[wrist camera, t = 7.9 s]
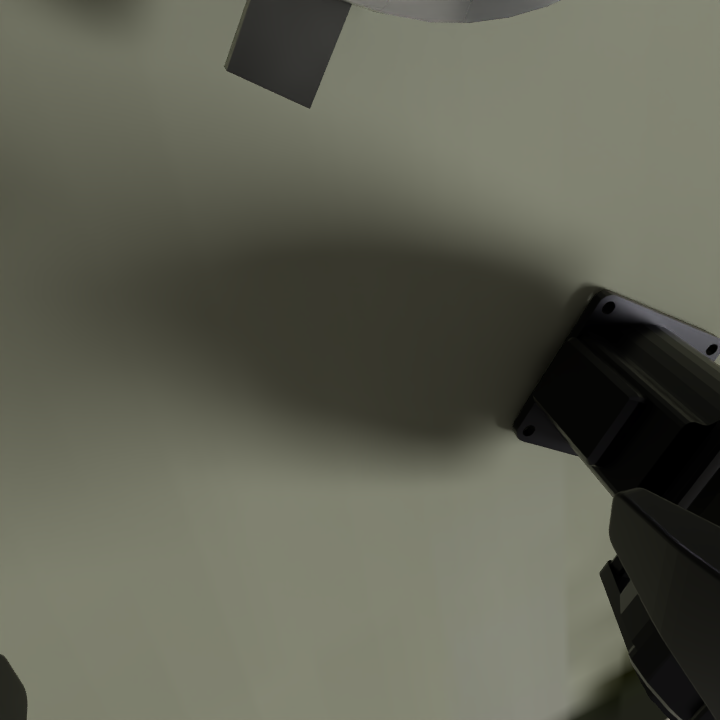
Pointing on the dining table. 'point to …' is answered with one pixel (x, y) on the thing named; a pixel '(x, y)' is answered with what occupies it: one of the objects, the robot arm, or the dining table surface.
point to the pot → (287, 45)
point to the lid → (452, 9)
